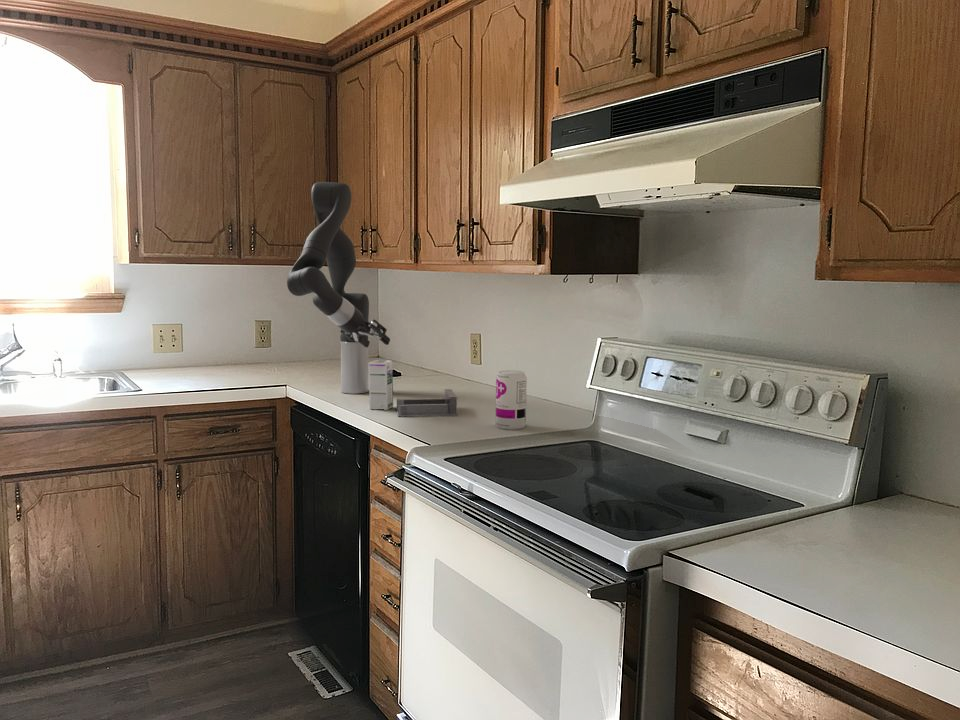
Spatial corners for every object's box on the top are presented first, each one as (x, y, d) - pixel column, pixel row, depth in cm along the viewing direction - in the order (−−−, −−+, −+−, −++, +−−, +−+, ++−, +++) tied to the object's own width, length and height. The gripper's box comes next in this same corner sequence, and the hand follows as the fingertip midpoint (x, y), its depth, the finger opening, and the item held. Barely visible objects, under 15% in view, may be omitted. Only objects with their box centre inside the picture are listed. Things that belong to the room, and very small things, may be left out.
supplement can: (501, 430, 215) (501, 374, 213) (492, 424, 222) (492, 370, 220) (530, 429, 217) (531, 373, 215) (520, 423, 225) (520, 369, 223)
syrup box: (387, 410, 242) (387, 362, 240) (368, 409, 243) (368, 361, 241) (393, 407, 247) (393, 359, 245) (375, 406, 248) (374, 359, 247)
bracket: (396, 407, 246) (396, 390, 245) (451, 406, 248) (452, 389, 247) (398, 416, 232) (398, 398, 231) (457, 415, 234) (457, 396, 234)
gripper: (365, 300, 234) (399, 331, 245) (331, 306, 242) (365, 335, 253) (357, 322, 231) (391, 352, 241) (322, 327, 239) (357, 356, 250)
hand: (378, 343), depth 247 cm, fingers open, 8 cm apart
